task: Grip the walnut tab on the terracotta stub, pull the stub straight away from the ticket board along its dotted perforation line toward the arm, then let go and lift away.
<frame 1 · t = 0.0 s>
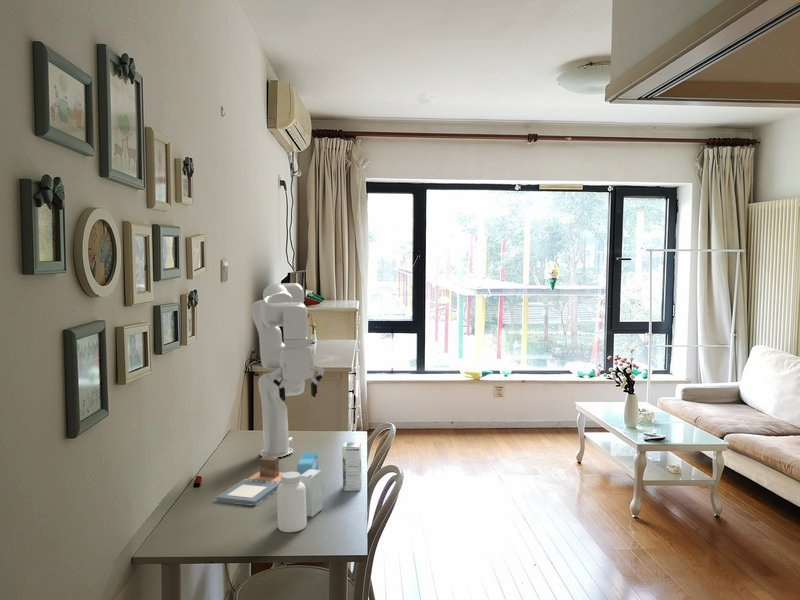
hand: (298, 397, 190), 31 cm above the table, tool pointing down, fingers open, 9 cm apart
pill bottle: (292, 527, 170), on the table
skincare box: (312, 513, 179), on the table
stub: (269, 469, 206), point 4 cm above the table, slide at 0.0 cm
syrup box: (352, 488, 197), on the table
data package: (309, 495, 192), on the table
ticket board: (250, 493, 194), on the table
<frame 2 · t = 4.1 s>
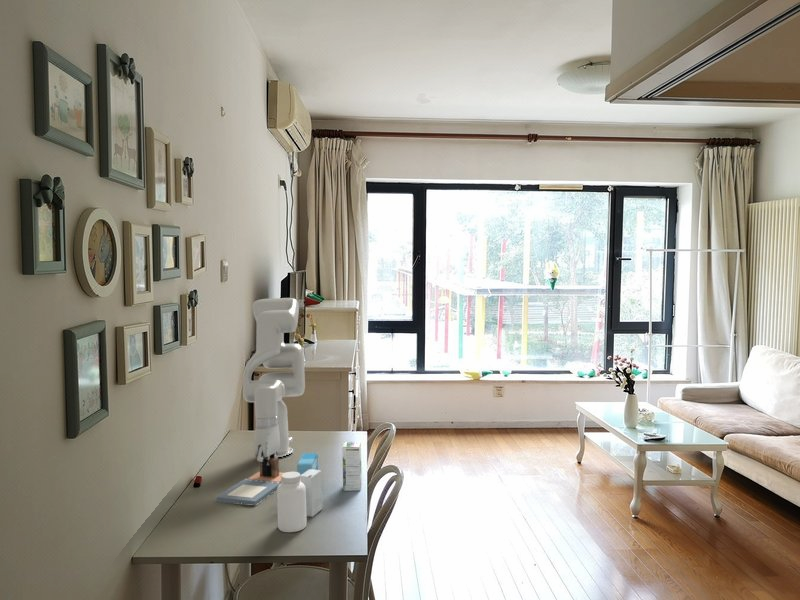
hand: (269, 474, 206), 2 cm above the table, tool pointing down, fingers closed on stub, 2 cm apart
stub: (269, 469, 206), point 4 cm above the table, slide at 0.0 cm, touching gripper
everything else where it was.
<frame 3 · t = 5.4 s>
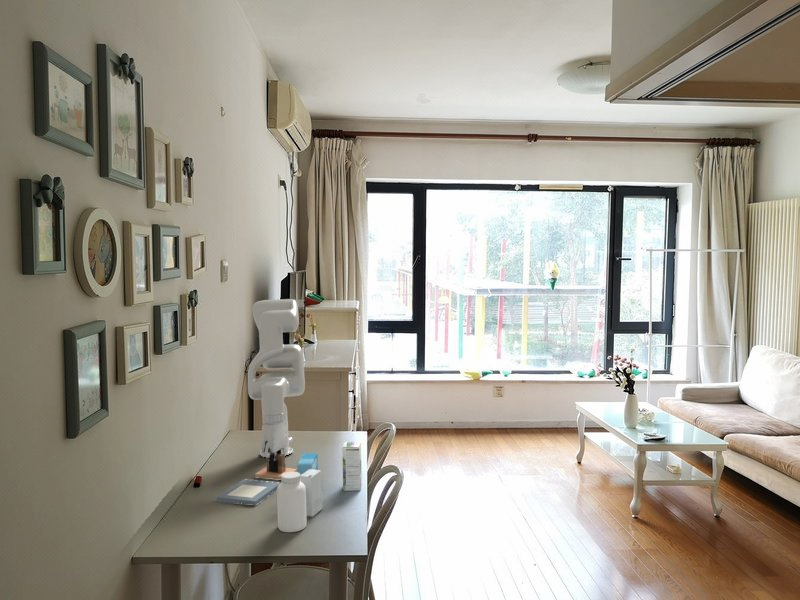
hand: (276, 469, 210), 2 cm above the table, tool pointing down, fingers closed on stub, 2 cm apart
stub: (275, 465, 210), point 4 cm above the table, slide at 4.4 cm, touching gripper
everything else where it was.
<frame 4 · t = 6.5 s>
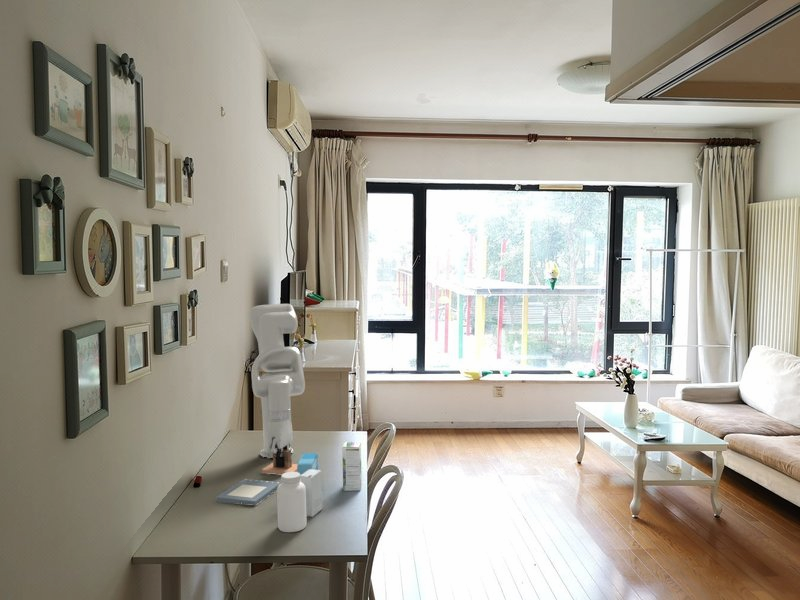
hand: (282, 465, 214), 2 cm above the table, tool pointing down, fingers closed on stub, 2 cm apart
stub: (282, 460, 214), point 4 cm above the table, slide at 8.9 cm, touching gripper
everything else where it was.
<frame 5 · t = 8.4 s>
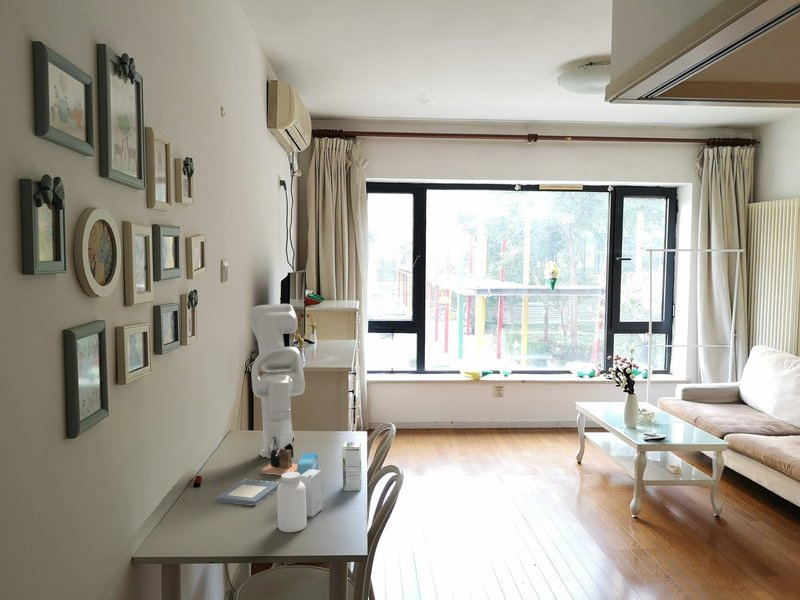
hand: (282, 461, 214), 3 cm above the table, tool pointing down, fingers open, 9 cm apart
stub: (282, 460, 214), point 4 cm above the table, slide at 9.0 cm
everything else where it was.
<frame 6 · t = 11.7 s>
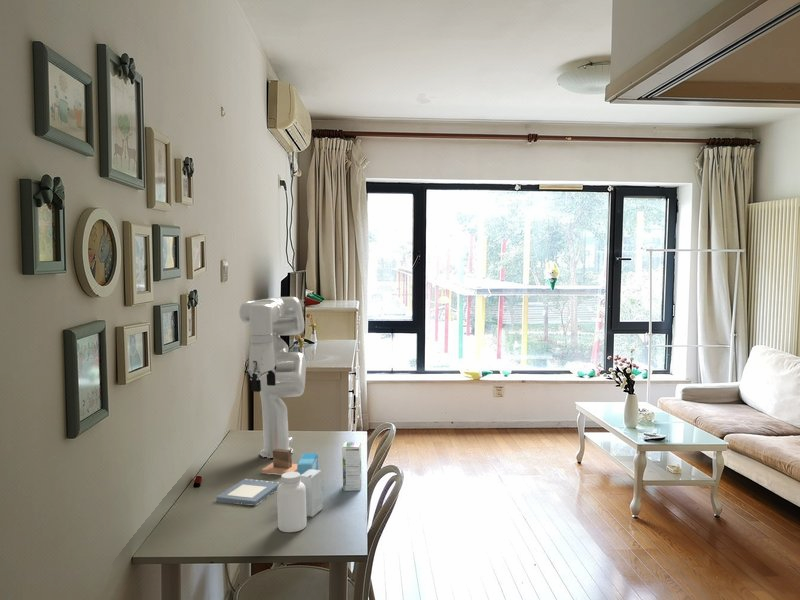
hand: (264, 388, 211), 30 cm above the table, tool pointing down, fingers open, 9 cm apart
nothing on the table moved.
at the end: stub slide at 9.0 cm; the gripper is holding nothing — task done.
